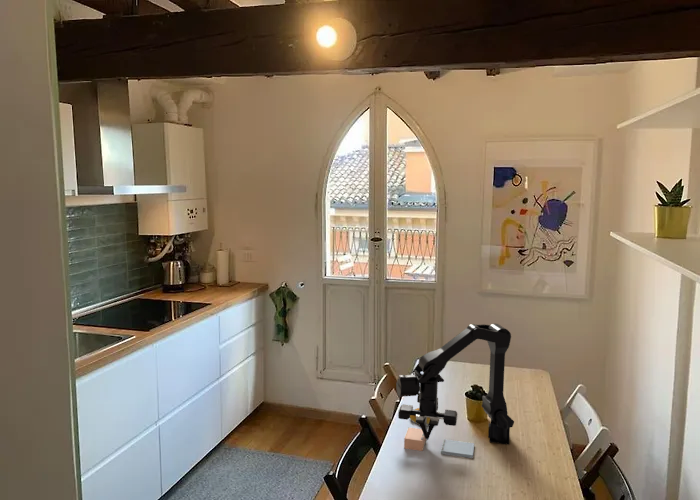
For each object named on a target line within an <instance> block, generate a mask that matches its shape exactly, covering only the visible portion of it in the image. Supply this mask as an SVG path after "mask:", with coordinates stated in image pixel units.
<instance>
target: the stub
mask: <svg viewBox="0 0 700 500" xmlns="http://www.w3.org/2000/svg"><path fill="white" fill-rule="evenodd" d="M426 441H427V440H426V439H425V436H424V434H423V431H422V429H421V428H416V427H408V428H407V430H406V433H405V436H404V441H403V449H407V450H410V451H412V450H414V451H419V452H423V450H424V446H425V445H426Z"/></svg>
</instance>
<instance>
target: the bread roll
mask: <svg viewBox="0 0 700 500" xmlns="http://www.w3.org/2000/svg"><path fill="white" fill-rule="evenodd" d="M414 410H419V407H418V408H415V409H414ZM409 420H410V421H411V422H412V423H415V424H416V425H419V424H418V423H416V416H413V415H410V418H409ZM429 421H430V418H428V417H427V426H429ZM419 426H420V425H419Z"/></svg>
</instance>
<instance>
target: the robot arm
mask: <svg viewBox="0 0 700 500" xmlns="http://www.w3.org/2000/svg"><path fill="white" fill-rule="evenodd" d="M511 339H512V334H511V332H510V330H508V329H507V328H506V327H504V326H503V325H501V324H499V323H492V324H485V323H484V324H474V323H471V324H469V325H468V326H467V327H466V328H464V330H462V331H461V332H460V333H458V334H457V335H456V336H454V337H453V338H452V339H450V340H449V341H448V342H447V343H445V344H444V345H443V346H441V347H439V348H438V349H435V350H431V351H429V352H427V353H425V354H423V355H421V357H420V358H419V359H418V363H417V365H416V366H415V367H414V369H413V370H411V374H406V375H405V374H398V378H397V381H396V385H395V386H396V388H395V389H396V393H397V396H398V397H415V396H417V399H416V401H417V403H418V404H419V407H418V408H419V410H415V409H414V406H413V405H411V404H404V403H402V404H401V405H400V407H399V410H398V415H397V417H398V419H399V420H410V415H413V416H416V423H415V424H417V423H418V424H419V427H420V429H422V431H423V434H424V436H425V439H426V441H428V440H429V438H430V436H431V434H432V431H433V429H434V428H435V427H437V426H439V422H440V420H443V424H445V426H451V427H452V426H453V427H456V426H457V422H458V411H457V410H454V409H453V410H452V409H444V410H445V411H444V412H439V397H438V387H439V386H438V385H439V383H444V382H445V379H444V377H442V376H441V375H440V373H441V372H442V371H443V370H444V368H446V365H447V363H448V362H450V360H451V359H453V358H454V357H455V356H457V355H458V354H460V352H463V350H464V349H466V348H467V347H469V345H471V344H473V342H475V341H476V340H482V341H487V344H488V348H489V351H490V355H489V357H490V358H489V377H488V379H489V380H488V393H487V394H486V395H482V396H481V399H482V403H481V407H482V408H483V411H484V412H485V414H487V416H488V418H490V423H488V433H487V434H488V436H487V437H488V439H489V441H488V442H489V443H493V444H501V445H508V446H509V445H510V444H511V443H510V441H511V440H510V438H511V437H510V433H511V431H510V430H511V428H513V427H514V423H515V421H514V420H513V418H512V417H510V415H508V414H509V413H508V406H507V402H506V399H505V397H504V395H505V394H504V388H505V387H504V386H505V385H504V384H505V383H504V382H505V381H504V380H505V363H506V361H505V360H506V353H507V351H508V350H509V348H510V345H511ZM427 417H428V418H430V421H429V425H427ZM418 424H417V425H418Z"/></svg>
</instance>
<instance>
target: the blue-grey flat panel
mask: <svg viewBox="0 0 700 500" xmlns="http://www.w3.org/2000/svg"><path fill="white" fill-rule="evenodd" d="M474 449H475V443H474V442H469V441H459V440H454V439H453V440H452V439H446V438H443V442H442V445H441V449H440V450H441V451H440V454H441V455H446V456H447V455H448V456H454V457H459V458H460V457H461V458H470V459H473V458H474Z"/></svg>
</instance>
